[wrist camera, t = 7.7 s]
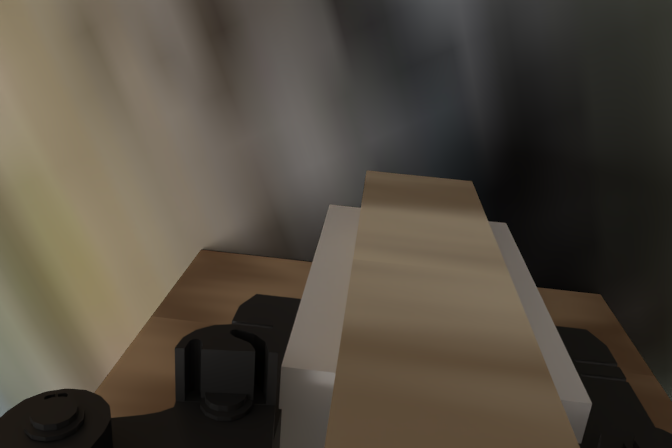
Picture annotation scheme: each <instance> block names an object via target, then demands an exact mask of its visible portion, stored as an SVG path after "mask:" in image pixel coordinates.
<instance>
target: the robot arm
mask: <svg viewBox="0 0 672 448" xmlns="http://www.w3.org/2000/svg"><path fill="white" fill-rule="evenodd" d="M360 210H361V208H358V207H348V206H339V205H329V208H328V212H327V215H326V218H325V222H324V225H323V228H322V232H321V235H320V238H319V242H318V245H317V248H316V252H315V255H314V259H313V262H312V265H311V269H310V272H309V275H308V279H307V282H306V285H305V289H304V292H303V295H302V299H298V298H289V297H280V296H271V295H263V294H256V295H254V296H253V297H251V298H250V299H248V300H247V301H245V302H244V303H242V304H241V305H240V306H239V307H238V309H237V311H236V314H235V316H234V318H233V320H232V324H223V325H212V326H208V327H204V328H200V329H197V330H195V331H193V332H191V333H190V334H188V335H186V336H184V337H183V338H182V339H181V340H180V342H179V343H178V344H177V346H176V347H175V399H176V401H175V405H174V407H172V408H169V409H166V410H163V411H160V412H156V413H150V414H144V415H135V416H125V417H115V418H111V411H110V405H109V404H108V403H107V402H106V401H105V400H104V399H103V398H102V397H101V396H100V395H97V394H95V393H92V392H89V391H87V390H78V389H61V390H54V391H48V392H44V393H41V394H38V395H36V396H33V397H30V398H28V399H25V400H23V401H22V402H20V403H19V404H17V405H16V406H14V407H13V408H11V409H10V410H8V411H7V412H6V413H5V414H4V415H3V416H2V417H0V448H324V446H325V439H326V433H327V426H328V420H329V413H330V407H331V400H332V394H333V387H334V380H335V374H336V367H337V361H338V354H339V348H340V341H341V335H342V328H343V322H344V315H345V308H346V302H347V295H348V289H349V282H350V276H351V269H352V263H353V256H354V250H355V243H356V237H357V230H358V223H359V217H360ZM488 222H489V224H490V227H491V229H492V232H493V234H494V237H495V239H496V242H497V244H498V247H499V249H500V252H501V254H502V257H503V259H504V261H505V264H506V266H507V269H508V271H509V274H510V276H511V279H512V281H513V284H514V286H515V289H516V291H517V294H518V296H519V298H520V301H521V303H522V306H523V308H524V311H525V313H526V316H527V318H528V321H529V323H530V326H531V328H532V331H533V333H534V335H535V338H536V340H537V343H538V345H539V348H540V350H541V353H542V355H543V358H544V360H545V363H546V365H547V368H548V370H549V372H550V375H551V377H552V380H553V382H554V385H555V387H556V390H557V392H558V395H559V397H560V400H561V402H562V405H563V407H564V409H565V412H566V414H567V417H568V419H569V422H570V424H571V427H572V429H573V432H574V434H575V437H576V439H577V442H578V444H579V446H580V448H672V434H671V433H669V432H667V431H665V430H663V429H660V428H656V427H655V426H654V424H653V422H652V421H651V419H650V417H649V416H648V414H647V412H646V410H645V409H644V407H643V405H642V404H641V402H640V400H639V399H638V397H637V395H636V394H635V392H634V390H633V389H632V387H631V385H630V384H629V382H626V377H625V375H624V374H623V372H622V370H621V369H620V367H617V362H616V360H615V358H614V357H613V355H612V353H611V352H610V350H609V348H608V347H607V345H605V344H604V343H603V342H602V341H600V340H599V339H598V338H597V337H595V336H594V335H593V334H592V333H590V332H589V331H588V330H587V329H579V328H570V327H562V326H555V325H554V323H553V320H552V318H551V316H550V314H549V312H548V310H547V308H546V306H545V304H544V302H543V299H542V297H541V295H540V293H539V291H538V289H537V287H536V285H535V283H534V281H533V279H532V276H531V274H530V272H529V270H528V268H527V266H526V264H525V262H524V260H523V258H522V255H521V253H520V251H519V249H518V247H517V245H516V243H515V241H514V239H513V237H512V235H511V232H510V230H509V228H508V226H507V224H506V223H500V222H491V221H488Z"/></svg>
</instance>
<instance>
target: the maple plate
mask: <svg viewBox="0 0 672 448" xmlns="http://www.w3.org/2000/svg"><path fill="white" fill-rule="evenodd" d="M324 448H580V446H579V444H578V442H577V439H576V437H575V434H574V432H573V429H572V427H571V424H570V422H569V419H568V417H567V414H566V412H565V409H564V407H563V405H562V402H561V400H560V397H559V395H558V392H557V390H556V387H555V385H554V382H553V380H552V377H551V375H550V372H549V370H548V368H547V365H546V363H545V360H544V358H543V355H542V353H541V350H540V348H539V345H538V343H537V340H536V338H535V335H534V333H533V331H532V328H531V326H530V323H529V321H528V318H527V316H526V313H525V311H524V308H523V306H522V303H521V301H520V298H519V296H518V294H517V291H516V289H515V286H514V284H513V281H512V279H511V276H510V274H509V271H508V269H507V266H506V264H505V261H504V259H503V257H502V254H501V252H500V249H499V247H498V244H497V242H496V239H495V237H494V234H493V232H492V229H491V227H490V224H489V222H488V220H487V217H486V215H485V212H484V210H483V207H482V205H481V202H480V200H479V197H478V195H477V192H476V190H475V187H474V185H473V183H472V181H464V180H454V179H445V178H435V177H425V176H415V175H406V174H396V173H386V172H376V171H366V178H365V184H364V191H363V197H362V204H361V210H360V217H359V223H358V230H357V237H356V243H355V250H354V256H353V263H352V269H351V276H350V282H349V289H348V295H347V302H346V308H345V315H344V322H343V328H342V335H341V341H340V348H339V354H338V361H337V367H336V374H335V380H334V387H333V394H332V400H331V407H330V413H329V420H328V426H327V433H326V439H325V446H324Z"/></svg>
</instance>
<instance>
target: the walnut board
mask: <svg viewBox="0 0 672 448" xmlns="http://www.w3.org/2000/svg"><path fill="white" fill-rule="evenodd" d="M311 265H312V262H306V261H297V260H289V259H280V258H271V257H262V256H253V255H244V254H235V253H226V252H217V251H208V250H201V251H200V252H199V253H198V255H197V256H196V257H195V259H194V260H193V261H192V263H191V264H190V265H189V267H188V268H187V269H186V271H185V272H184V273H183V275H182V276H181V277H180V279H179V280H178V281H177V283H176V284H175V285H174V287H173V288H172V289H171V291H170V292H169V293H168V295H167V296H166V297H165V299H164V300H163V302H162V303H161V304H160V306H159V307H158V308H157V310H156V311H155V312H154V314H153V315H152V316H151V318H150V319H149V320H148V322H147V323H146V324H145V326H144V327H143V328H142V330H141V331H140V332H139V334H138V335H137V336H136V338H135V339H134V340H133V342H132V343H131V344H130V346H129V347H128V348H127V350H126V351H125V352H124V354H123V355H122V356H121V358H120V359H119V361H118V362H117V363H116V365H115V366H114V367H113V369H112V370H111V371H110V373H109V374H108V375H107V377H106V378H105V379H104V381H103V382H102V383H101V385H100V386H99V387H98V389H97V390H96V391H95V394H97V395H100V396H101V397H102V398H103V399H104V400H105V401H106V402H107V403H108V404H109V405H110V411H111V418H115V417H125V416H135V415H144V414H150V413H156V412H160V411H163V410H166V409H169V408H172V407H174V405H175V401H176V399H175V347H176V346H177V344H178V343H179V342H180V340H181V339H182V338H183V337H184V336H186V335H188V334H190V333H191V332H193V331H195V330H197V329H200V328H204V327H208V326H212V325H223V324H232V320H233V318H234V316H235V314H236V311H237V309H238V307H239V306H240V305H241V304H242V303H244V302H245V301H247V300H248V299H250V298H251V297H253V296H254V295H256V294H263V295H271V296H280V297H289V298H298V299H302V295H303V292H304V289H305V285H306V282H307V279H308V275H309V272H310V269H311ZM537 289H538V291H539V293H540V295H541V297H542V299H543V302H544V304H545V306H546V308H547V310H548V312H549V314H550V316H551V318H552V320H553V323H554V325H555V326H562V327H570V328H579V329H587V330H588V331H589V332H590V333H592V334H593V335H594V336H595V337H597V338H598V339H599V340H600V341H602V342H603V343H604V344H605V345H607V347H608V348H609V350H610V352H611V353H612V355H613V357H614V358H615V360H616V362H617V367H620V369H621V370H622V372H623V374H624V375H625V377H626V382H629V384H630V385H631V387H632V389H633V390H634V392H635V394H636V395H637V397H638V399H639V400H640V402H641V404H642V405H643V407H644V409H645V410H646V412H647V414H648V416H649V417H650V419H651V421H652V422H653V424H654V426H655V427H656V428H660V429H663V430H665V431H667V432H669V433H671V434H672V402H671V400H670V399H669V397H668V396H667V394H666V393H665V391H664V390H663V388H662V387H661V385H660V384H659V382H658V381H657V379H656V378H655V376H654V375H653V373H652V371H651V370H650V368H649V367H648V365H647V364H646V362H645V361H644V359H643V358H642V356H641V355H640V353H639V352H638V350H637V349H636V347H635V346H634V344H633V343H632V341H631V340H630V338H629V337H628V335H627V334H626V332H625V331H624V329H623V328H622V326H621V325H620V323H619V322H618V320H617V319H616V317H615V316H614V314H613V313H612V311H611V310H610V308H609V307H608V305H607V304H606V302H605V301H604V299H603V298H602V296H601V295H600V294H592V293H583V292H574V291H565V290H556V289H547V288H538V287H537Z"/></svg>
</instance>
